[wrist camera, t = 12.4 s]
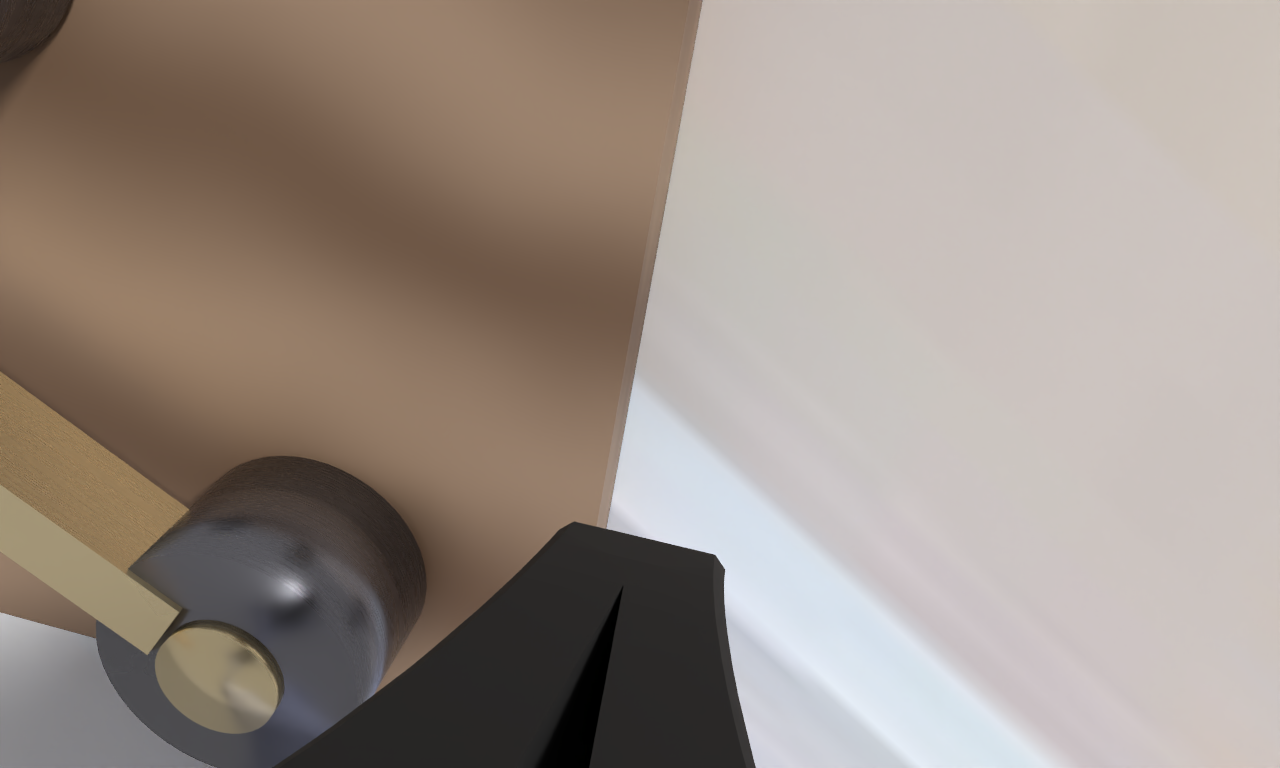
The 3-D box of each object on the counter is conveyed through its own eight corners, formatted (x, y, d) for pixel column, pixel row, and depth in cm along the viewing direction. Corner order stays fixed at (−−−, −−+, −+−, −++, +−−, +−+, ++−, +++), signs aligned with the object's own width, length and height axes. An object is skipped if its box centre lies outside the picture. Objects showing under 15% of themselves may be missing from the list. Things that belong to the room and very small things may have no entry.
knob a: (472, 563, 19) (400, 692, 16) (350, 696, 21) (266, 831, 18) (-63, 160, 18) (-247, 220, 15) (-141, 343, 20) (-318, 428, 17)
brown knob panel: (572, 709, 22) (520, 862, 19) (-170, 511, 24) (-341, 619, 21) (813, -607, 13) (791, -774, 9) (-453, -793, 14) (-864, -993, 11)
